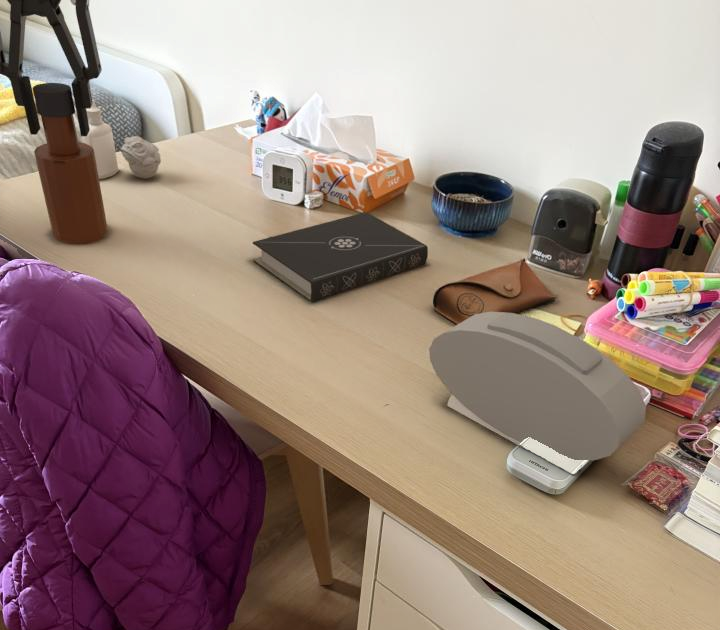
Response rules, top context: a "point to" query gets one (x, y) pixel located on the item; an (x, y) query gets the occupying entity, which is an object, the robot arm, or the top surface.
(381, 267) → the book
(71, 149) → the brown bottle
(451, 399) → the alarm clock
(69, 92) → the bung
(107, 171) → the eye dropper bottle
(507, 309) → the sunglasses case
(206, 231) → the top surface
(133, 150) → the frog figurine
